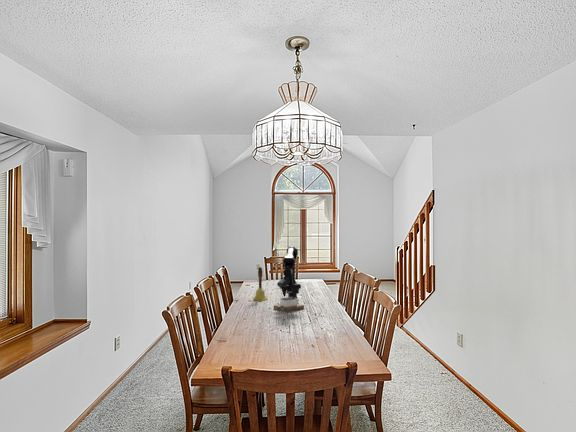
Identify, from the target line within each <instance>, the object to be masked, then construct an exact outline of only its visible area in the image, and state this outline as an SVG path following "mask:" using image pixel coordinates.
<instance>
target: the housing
mask: <svg viewBox="0 0 576 432" xmlns="http://www.w3.org/2000/svg"><path fill="white" fill-rule="evenodd" d="M297 300H298V297H297V298H294V299H293V297H288V296H285V297H281V298H280V304H281V306H284V307H289V306H295V305H297V304H298V301H297Z"/></svg>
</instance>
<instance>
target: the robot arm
mask: <svg viewBox="0 0 576 432" xmlns="http://www.w3.org/2000/svg"><path fill="white" fill-rule="evenodd" d="M298 255H299V250H298V248H296V247H295V246H287V248H286V255H285V256H284V258H283V260H282V261H283V262H282V268H284V270H283V271H282V274H283V277H282V279H281V280H279V281H278V282H277V283H276V285H277V287H278V288H280V289H281V292H282V295H283V298H286V297H293V299H294V298H297V302H299V300H298V296H297V295H298V294H299V293H300V289H301V288H302V285H301V284H300V283H297V281H296V260H297V259H298ZM286 294H287V296H286Z"/></svg>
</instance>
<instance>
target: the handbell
mask: <svg viewBox="0 0 576 432" xmlns="http://www.w3.org/2000/svg"><path fill="white" fill-rule="evenodd" d="M257 277H258V289H256V290H255V296H253V298H252V299H253V300H252V301H254V300H257V301H256V302H265V300H266V301H268V300H269V298H268V297H267V296H266V295H265V290H264V289H263V287H262V286H263V285H262V280H263V279H262V278H263V268H262V267H261V266H260V267H258V271H257Z"/></svg>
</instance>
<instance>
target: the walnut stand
mask: <svg viewBox="0 0 576 432" xmlns="http://www.w3.org/2000/svg"><path fill="white" fill-rule="evenodd" d="M304 309H305V304H301V303H300V304H299V303H297V305H295V306H289V307H284V306H281V303H280V304H274V305H273V310H277V311H280V312H283V313H292V312H296V311H300V310H304Z"/></svg>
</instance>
